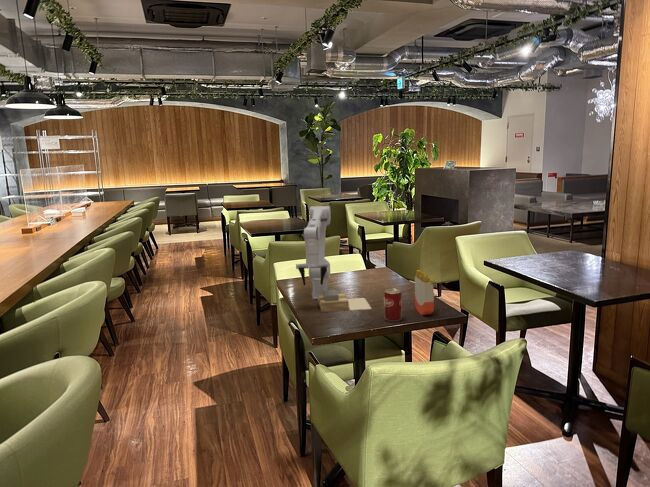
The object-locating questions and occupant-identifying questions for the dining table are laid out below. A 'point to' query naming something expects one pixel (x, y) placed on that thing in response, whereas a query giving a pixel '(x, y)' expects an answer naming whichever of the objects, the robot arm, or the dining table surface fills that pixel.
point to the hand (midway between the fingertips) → (312, 284)
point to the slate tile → (330, 295)
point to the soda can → (392, 305)
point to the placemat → (358, 304)
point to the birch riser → (333, 303)
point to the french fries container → (424, 293)
